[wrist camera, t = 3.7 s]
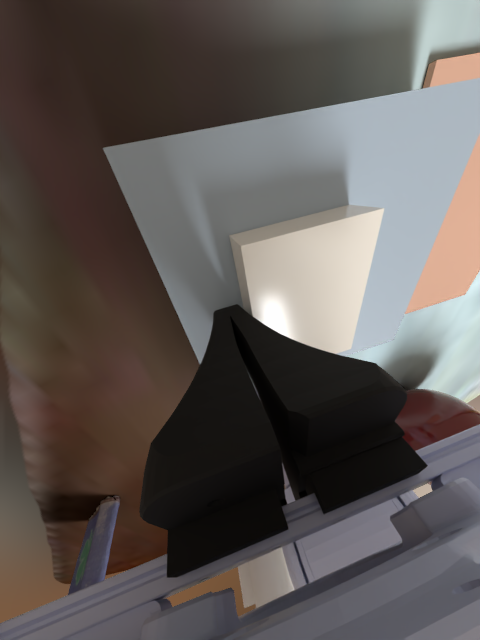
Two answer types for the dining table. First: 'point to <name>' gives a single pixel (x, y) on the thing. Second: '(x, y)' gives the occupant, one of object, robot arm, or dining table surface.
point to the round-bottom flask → (434, 417)
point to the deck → (301, 194)
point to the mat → (454, 211)
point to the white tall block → (264, 579)
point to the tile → (309, 274)
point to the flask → (96, 546)
